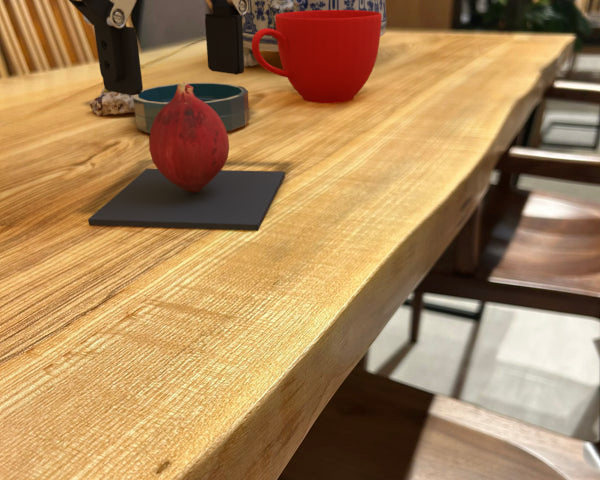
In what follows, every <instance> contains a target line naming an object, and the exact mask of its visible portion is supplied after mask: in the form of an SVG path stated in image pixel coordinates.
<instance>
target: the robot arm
mask: <svg viewBox="0 0 600 480" xmlns="http://www.w3.org/2000/svg"><path fill="white" fill-rule="evenodd" d="M137 1H138V0H68V2H70V3H71V4H72V5H73V6H74V7H75V9H76V10H78V11H79V12H80V14H82V18H83V20H84V23H86V24H87V25H88V26H92V27H93V31H94V36H95V44H96V52H97V57H98V58H97V59H98V64H99V71H100V75H101V77H102V81H103V83H102V84H103V88H104V87H105V89H106V90H108V91H112V92H117V93H122V94H128V95H137V94H140V93H141V91H142V90H143V89H144V86H143V79H142V68H141V60H140V51H139V42H138V34H137V31H136V28H135V27H134V26H127V22H128V20H129V18H130V16H131V14H132V12H133V10H134V7H135V5H136V3H137ZM205 2H206V4H207V6H208V7H209V8H210V10H211V11H212V12H211V13H209V12H208V13H205V14H204V15H205V17H204V24H205V40H206V43H205V44H206V58H207V68H208V69H209V70H210V71H212V72H216V73H223V74H224V73H225V74H231V75H241V74H243V73H244V72H245V67H244V51H243V26H242V16H240V15H245V14H246V13H247V11H248V1H247V0H205Z"/></svg>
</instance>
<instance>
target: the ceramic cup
mask: <svg viewBox="0 0 600 480" xmlns="http://www.w3.org/2000/svg"><path fill="white" fill-rule="evenodd" d="M381 20H382V16H381V13H379V12H374V11H361V10H316V11H298V12H287V13H280V14H277V15H275V22H276V30H274V29H269V28H266V29H261V30H259V31H258V32H256V34H255V35H254V37H253V39H252V52H253V55H254V57H255V59H256V60H257V62H258V63H259V64H258V65H259V66H260V67H262V68H263V69H264V70H266V71H267V72H269V73H272V74H274V75H278V76H281V77H284V78H287V80H288V81H289V83H290V85H291V86H292V87H293V89H294V90H295V91H296V93H297V94H298V95H299V96H300V97H301V98H302V101H303V102H304V101H305V102H308V103H311V104H313V103H314V104H327V105H329V104H341V103H347V102H351V101H353V100H354V99H355V97H356V95H358V93H359V92H360V91H361V90H362V89H363V87H364V86H365V85H366V83H367V81H368V80H369V78H370V76H371V75H372V72H373V69H374V67H375V64H376V60H377V56H378V52H379V46H380V40H381V37H380V32H381ZM265 35H271V36H273V37H274V38H275V39H276V40H277V42H278V49H279V52H278V54H279V59H280V63H281V66H282V69H281V68H278V67H275V66H274V65H271V64H270V63H268V62H267V60H265V59H264V57H263V55H262V53H261V50H259V43H260V40H261V38H262V37H263V36H265Z"/></svg>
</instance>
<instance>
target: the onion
mask: <svg viewBox="0 0 600 480" xmlns="http://www.w3.org/2000/svg"><path fill="white" fill-rule="evenodd" d="M187 83H188V82H182V84H180V83H179V84H180V85H178V86H177V90H176V93H175V96H174V98H173V99H172V100H171V101H170V102H169V103H167V104H166V105H165V106H164V107H163V108H162V109H161V110H160V112H159V113H158V114H157V116H156V118H155V119H154V122H153V124H152V127H151V131H150V133H149V137H148V142H149V143H148V144H149V149H148V150H149V153H150V157H151V160H152V161H151V162H152V163H153V164H154V166H155V167H156V169H158V170H159V172H160V173H162V174H163V175H164V176H165V177H166V178H167V179H168V180H169V181H170V182H172V183H173V184H175V185H176V186H178V187H180V188H182V189H184V190H186V191H187V192H190V193H196V192H199V191H201V190H202V188H203V187H204V186H205V185H207V184H208V183H209V182H210V181H211V180H212V179H213V178H214V177H215V176H216V175H217V174H218V173H219V172H220V170H223V168H224V167H225V165H226V163H227V160H228V158H229V151H230V142H229V141H230V140H229V135H228V132H226V128H225V126H224V124H223V122H222V120H221V119H220V117H219V116H218V114H217V113H216V112H215V111H214V110H213V109H212V108H211V107H210V106H209V105H208V104H206V103H205V102H203V101H202V100H200V99H198V98H196V97H195V96H194V94H193V87H192V86H190V85H189V84H187Z"/></svg>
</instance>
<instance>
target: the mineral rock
mask: <svg viewBox="0 0 600 480" xmlns="http://www.w3.org/2000/svg"><path fill="white" fill-rule="evenodd" d="M89 106H90V108H91V109H92V112H93V113H94V114H95V115H97V116H101V117H102V116H110V115H114V116H117V115H123V114H128V113H129V114H130V113H133V114H135V109H134V102H133V95H128V94H122V93H117V92H112V91H108V90H106V89H105V87H104V86H103V89H102V90H101V92H100V94H99V96H97V97H95V98H94V99H92V100H91V101H90V102H89Z"/></svg>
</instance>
